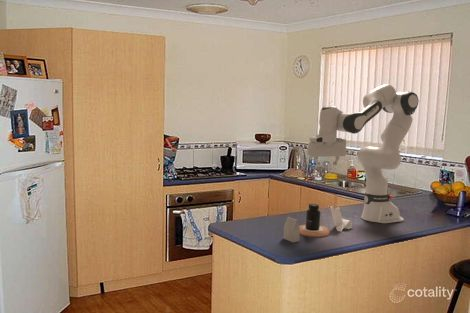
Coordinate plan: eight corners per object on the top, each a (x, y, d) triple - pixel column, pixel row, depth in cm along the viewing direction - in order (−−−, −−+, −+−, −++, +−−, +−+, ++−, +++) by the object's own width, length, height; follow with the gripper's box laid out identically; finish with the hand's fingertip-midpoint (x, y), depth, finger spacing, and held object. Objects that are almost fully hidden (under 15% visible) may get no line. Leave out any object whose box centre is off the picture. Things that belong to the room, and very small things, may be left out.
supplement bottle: (305, 230, 237) (306, 205, 235) (305, 226, 243) (306, 202, 242) (319, 231, 236) (321, 206, 234) (319, 227, 242) (320, 203, 241)
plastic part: (351, 228, 250) (353, 205, 248) (341, 231, 242) (343, 208, 241) (338, 225, 255) (339, 203, 253) (328, 228, 247) (329, 205, 246)
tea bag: (292, 242, 223) (293, 220, 222) (283, 238, 228) (284, 217, 227) (299, 241, 225) (300, 219, 224) (289, 237, 231) (290, 216, 229)
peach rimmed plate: (321, 226, 250) (321, 223, 250) (335, 236, 235) (335, 232, 234) (291, 228, 246) (291, 225, 246) (303, 237, 230) (303, 234, 230)
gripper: (343, 137, 256) (342, 163, 258) (306, 137, 251) (305, 164, 253) (349, 138, 250) (348, 165, 252) (311, 139, 245) (310, 166, 247)
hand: (326, 165), depth 252 cm, fingers open, 8 cm apart
